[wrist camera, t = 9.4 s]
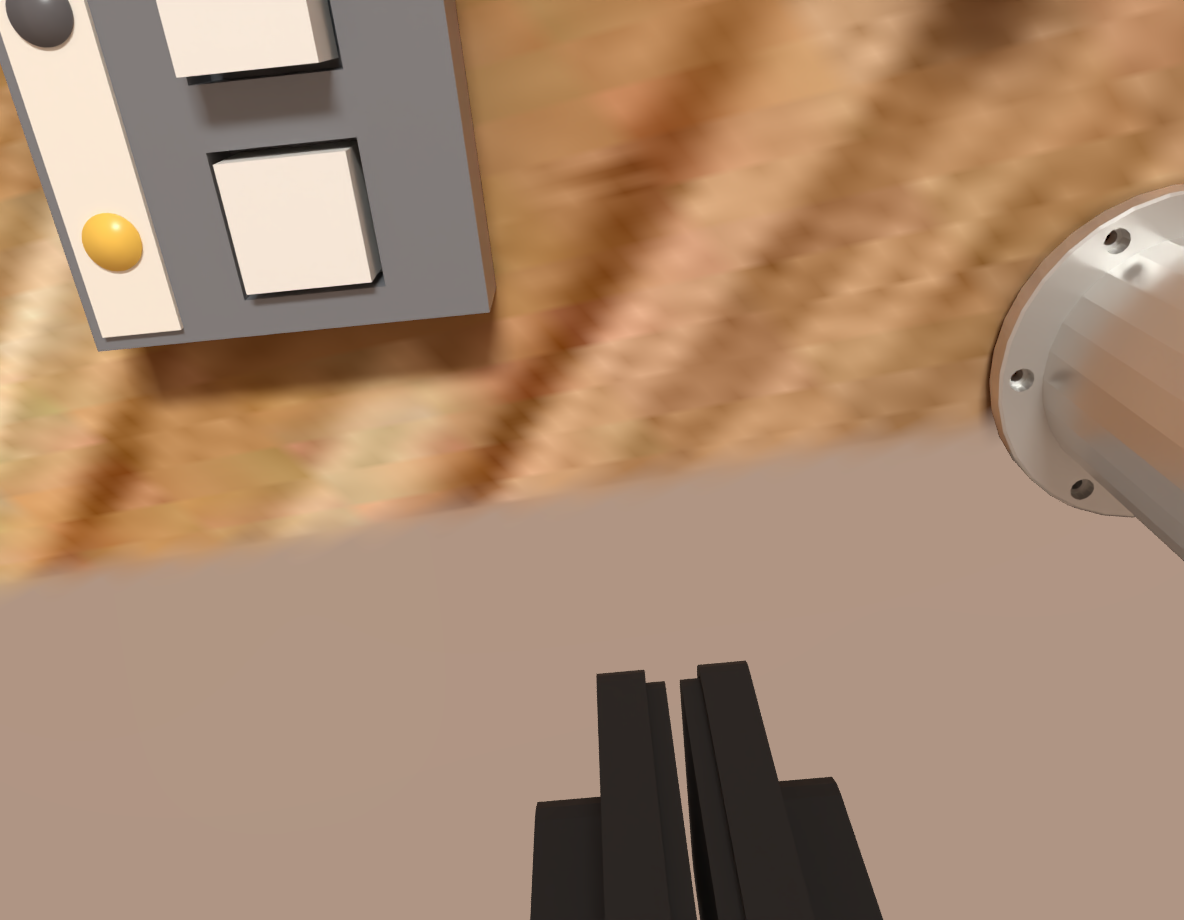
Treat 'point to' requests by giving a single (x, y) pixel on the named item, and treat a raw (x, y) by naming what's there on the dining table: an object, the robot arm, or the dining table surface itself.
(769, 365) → the dining table surface
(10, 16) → the switch panel
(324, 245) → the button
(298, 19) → the middle button
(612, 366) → the dining table surface
